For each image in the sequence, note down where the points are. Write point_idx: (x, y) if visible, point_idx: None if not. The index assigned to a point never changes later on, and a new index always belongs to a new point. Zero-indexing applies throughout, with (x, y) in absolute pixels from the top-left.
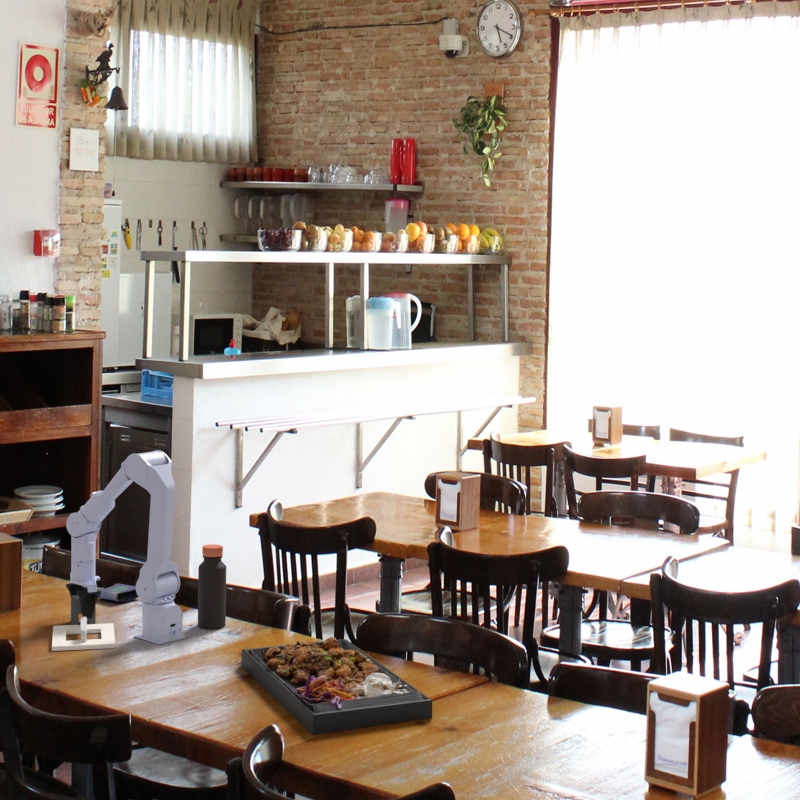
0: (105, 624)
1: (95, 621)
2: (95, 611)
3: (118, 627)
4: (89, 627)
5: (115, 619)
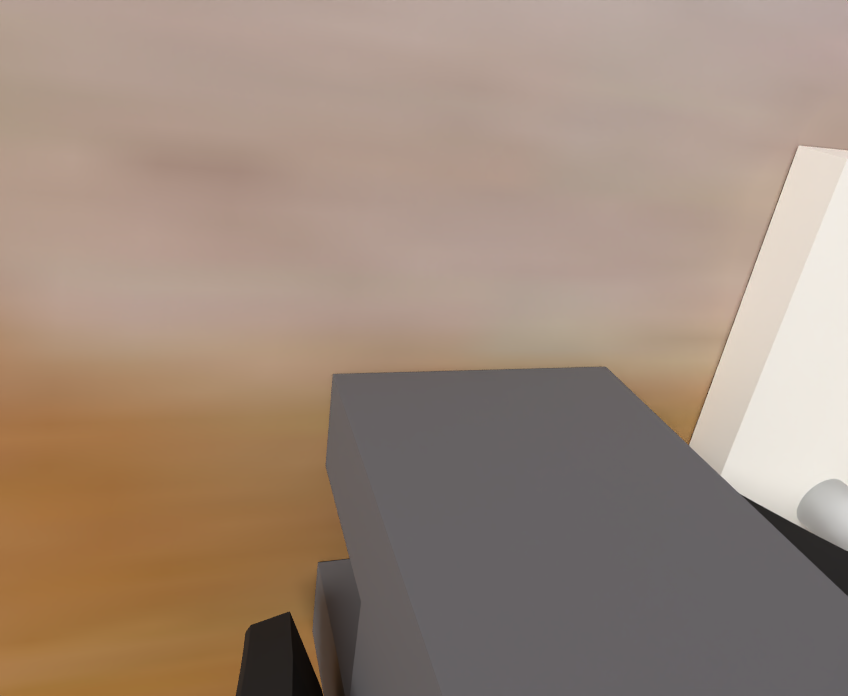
0: (839, 272)
1: (634, 394)
2: (732, 487)
3: (836, 66)
4: (843, 448)
5: (364, 37)
